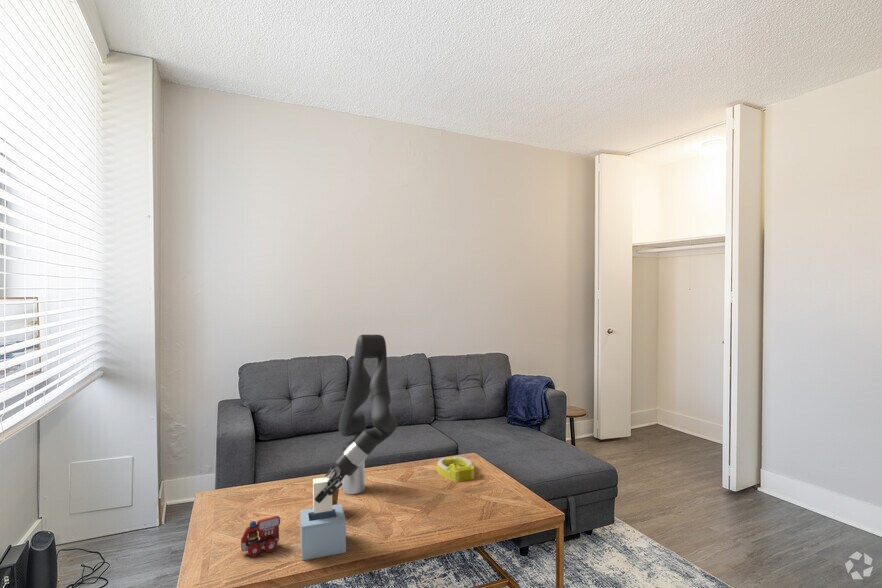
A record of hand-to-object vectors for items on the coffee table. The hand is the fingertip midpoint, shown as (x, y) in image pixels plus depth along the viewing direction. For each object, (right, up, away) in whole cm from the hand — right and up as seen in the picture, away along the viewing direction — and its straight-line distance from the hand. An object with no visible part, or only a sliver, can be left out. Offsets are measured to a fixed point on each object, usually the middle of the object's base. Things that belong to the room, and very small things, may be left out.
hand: (316, 498), depth 160 cm
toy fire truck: (-19, -17, 0) cm, 25 cm away
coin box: (+2, -17, +1) cm, 17 cm away
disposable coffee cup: (-2, -17, +25) cm, 30 cm away
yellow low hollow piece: (+49, -16, +64) cm, 83 cm away
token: (+2, -4, +1) cm, 5 cm away
